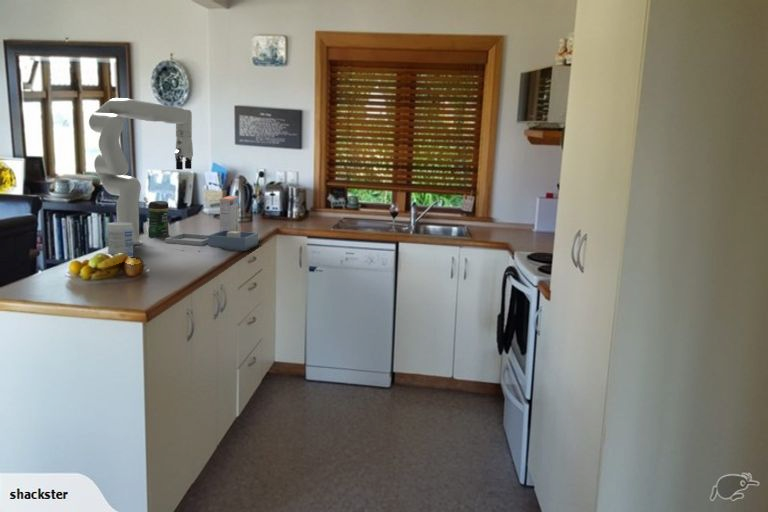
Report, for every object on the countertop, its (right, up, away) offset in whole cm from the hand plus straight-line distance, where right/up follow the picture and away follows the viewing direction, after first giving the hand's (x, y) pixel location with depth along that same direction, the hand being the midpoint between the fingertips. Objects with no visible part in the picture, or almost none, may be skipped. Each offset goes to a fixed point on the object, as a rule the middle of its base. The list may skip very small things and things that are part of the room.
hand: (183, 169), depth 307 cm
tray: (+8, -38, -12) cm, 40 cm away
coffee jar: (-12, -35, -3) cm, 37 cm away
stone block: (+28, -38, -13) cm, 50 cm away
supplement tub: (-8, -45, -54) cm, 71 cm away
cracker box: (+20, -34, +12) cm, 41 cm away
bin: (+28, -39, -13) cm, 50 cm away
